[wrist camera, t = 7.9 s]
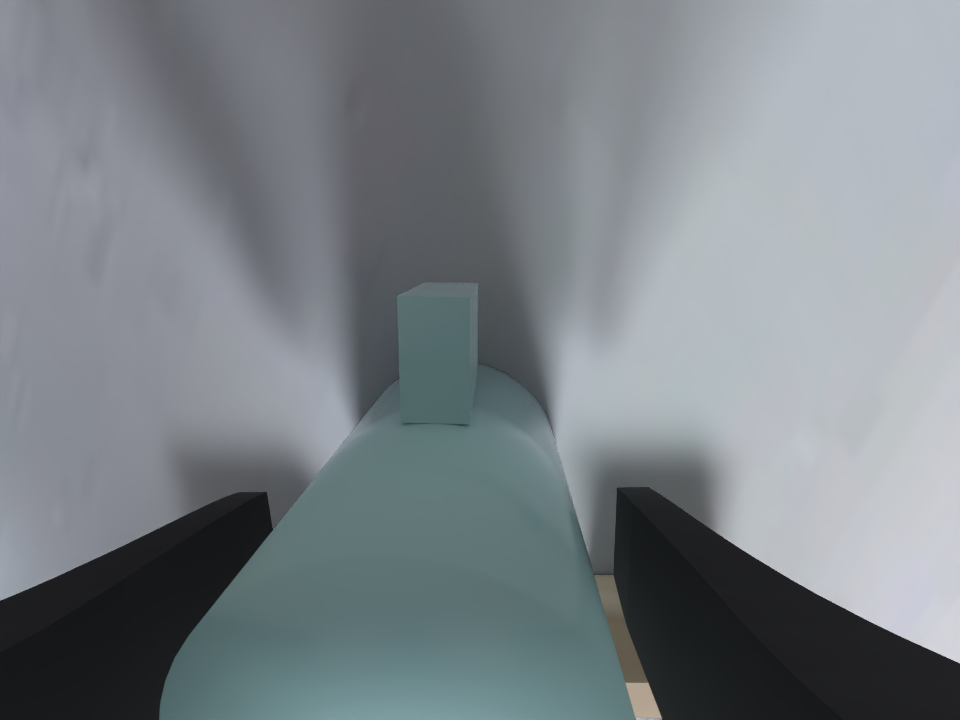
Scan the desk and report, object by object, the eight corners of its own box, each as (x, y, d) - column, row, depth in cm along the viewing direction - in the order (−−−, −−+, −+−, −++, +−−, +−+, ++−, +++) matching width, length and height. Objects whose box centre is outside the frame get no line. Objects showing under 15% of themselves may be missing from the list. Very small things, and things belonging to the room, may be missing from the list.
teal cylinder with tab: (564, 279, 12) (695, 343, 4) (550, 542, 14) (620, 939, 6) (351, 276, 12) (76, 332, 4) (366, 536, 14) (194, 913, 6)
